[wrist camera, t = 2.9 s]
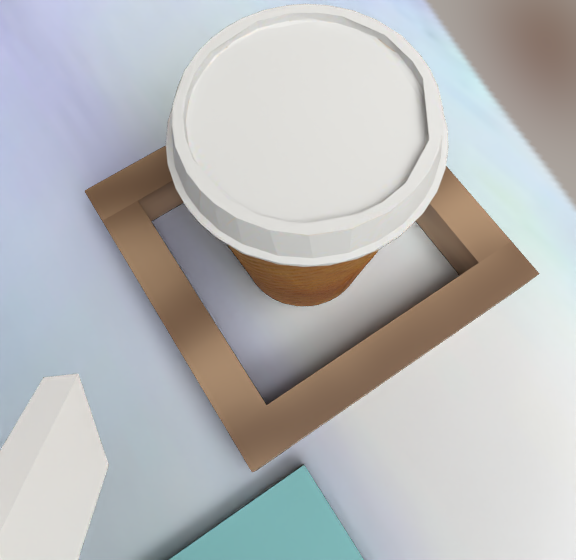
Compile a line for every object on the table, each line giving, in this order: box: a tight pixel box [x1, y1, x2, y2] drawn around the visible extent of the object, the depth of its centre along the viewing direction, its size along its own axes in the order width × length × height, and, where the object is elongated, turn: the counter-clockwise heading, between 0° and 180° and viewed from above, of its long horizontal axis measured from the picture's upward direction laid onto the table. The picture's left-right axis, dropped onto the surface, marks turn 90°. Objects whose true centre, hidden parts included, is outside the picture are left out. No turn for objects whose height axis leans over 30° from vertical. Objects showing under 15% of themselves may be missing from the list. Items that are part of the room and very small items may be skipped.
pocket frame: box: [85, 146, 539, 472], centre depth 27 cm, size 16×16×2 cm
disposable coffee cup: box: [166, 4, 448, 306], centre depth 22 cm, size 10×10×12 cm
